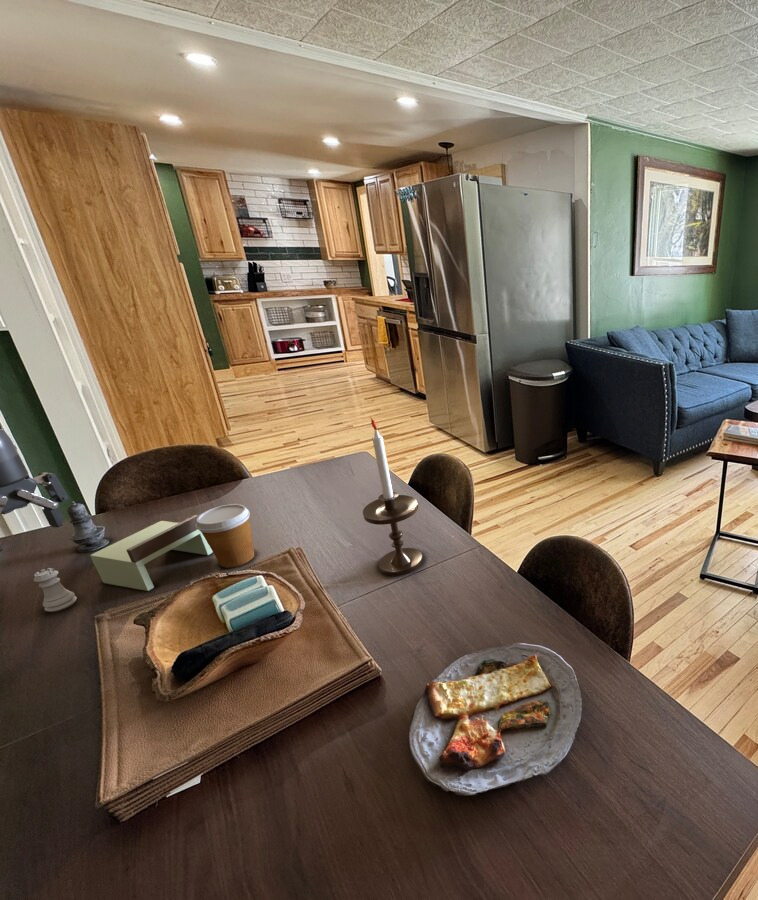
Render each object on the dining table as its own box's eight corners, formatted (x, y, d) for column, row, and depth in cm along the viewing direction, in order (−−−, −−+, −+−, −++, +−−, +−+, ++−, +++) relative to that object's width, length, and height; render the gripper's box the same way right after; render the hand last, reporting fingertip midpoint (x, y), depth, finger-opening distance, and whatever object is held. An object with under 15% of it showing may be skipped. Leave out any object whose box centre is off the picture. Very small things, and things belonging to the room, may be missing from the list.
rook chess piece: (46, 605, 93) (27, 571, 90) (78, 594, 96) (61, 561, 93) (44, 616, 90) (25, 582, 87) (77, 605, 93) (60, 572, 90)
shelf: (103, 583, 99) (83, 542, 96) (171, 545, 112) (156, 509, 108) (148, 591, 97) (129, 550, 93) (212, 552, 110) (199, 515, 106)
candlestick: (404, 582, 100) (374, 427, 86) (363, 572, 103) (329, 421, 90) (436, 554, 110) (414, 410, 96) (398, 545, 113) (371, 405, 99)
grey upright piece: (69, 550, 110) (46, 505, 105) (99, 537, 115) (78, 493, 111) (87, 554, 109) (65, 509, 104) (117, 540, 114) (97, 496, 109)
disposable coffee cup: (271, 553, 109) (257, 508, 105) (227, 577, 101) (210, 529, 97) (246, 543, 113) (231, 499, 108) (201, 565, 105) (183, 518, 100)
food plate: (403, 825, 58) (399, 807, 56) (416, 674, 78) (412, 658, 77) (599, 768, 64) (599, 750, 63) (563, 642, 85) (562, 627, 83)
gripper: (22, 441, 88) (60, 516, 94) (-96, 473, 75) (-43, 558, 81) (53, 444, 86) (89, 521, 93) (-62, 478, 74) (-11, 564, 80)
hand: (27, 538), depth 87 cm, fingers open, 8 cm apart
